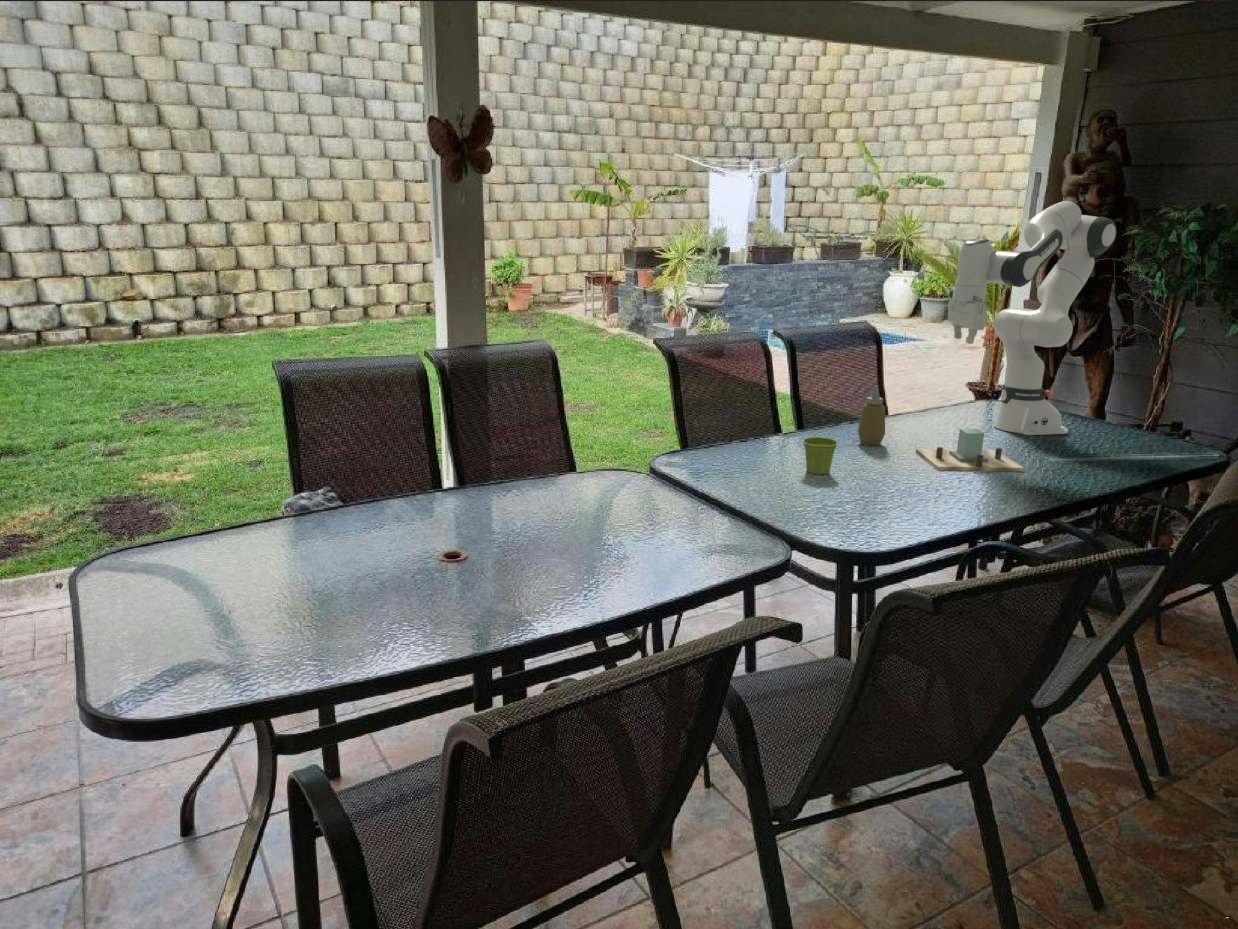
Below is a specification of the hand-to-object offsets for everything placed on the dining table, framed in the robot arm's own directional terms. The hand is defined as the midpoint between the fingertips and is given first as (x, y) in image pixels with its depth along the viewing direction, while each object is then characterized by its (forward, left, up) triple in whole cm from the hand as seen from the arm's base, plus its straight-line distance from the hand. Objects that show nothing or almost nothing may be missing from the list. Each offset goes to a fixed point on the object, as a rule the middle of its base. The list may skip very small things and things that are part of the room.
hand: (963, 340), depth 262 cm
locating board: (+4, +24, -31) cm, 39 cm away
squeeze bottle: (+27, +6, -31) cm, 42 cm away
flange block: (+4, +24, -30) cm, 39 cm away
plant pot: (+50, +36, -31) cm, 69 cm away
